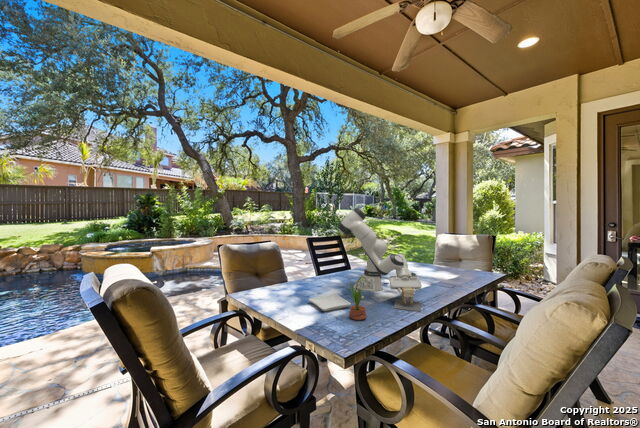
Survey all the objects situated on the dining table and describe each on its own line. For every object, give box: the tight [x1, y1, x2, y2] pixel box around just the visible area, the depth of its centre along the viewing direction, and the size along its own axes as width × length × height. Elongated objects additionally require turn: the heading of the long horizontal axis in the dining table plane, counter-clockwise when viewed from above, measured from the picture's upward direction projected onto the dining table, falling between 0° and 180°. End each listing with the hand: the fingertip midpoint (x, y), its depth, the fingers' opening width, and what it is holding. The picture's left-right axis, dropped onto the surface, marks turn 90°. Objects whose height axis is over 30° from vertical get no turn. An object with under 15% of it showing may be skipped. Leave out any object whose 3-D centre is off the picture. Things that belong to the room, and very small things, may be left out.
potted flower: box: [348, 275, 370, 321], centre depth 163 cm, size 12×10×25 cm
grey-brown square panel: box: [393, 299, 422, 313], centre depth 183 cm, size 16×16×1 cm
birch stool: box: [401, 288, 415, 304], centre depth 183 cm, size 6×6×9 cm
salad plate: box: [308, 293, 352, 312], centre depth 183 cm, size 21×21×3 cm
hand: (407, 295), depth 182 cm, fingers closed on birch stool, 6 cm apart
